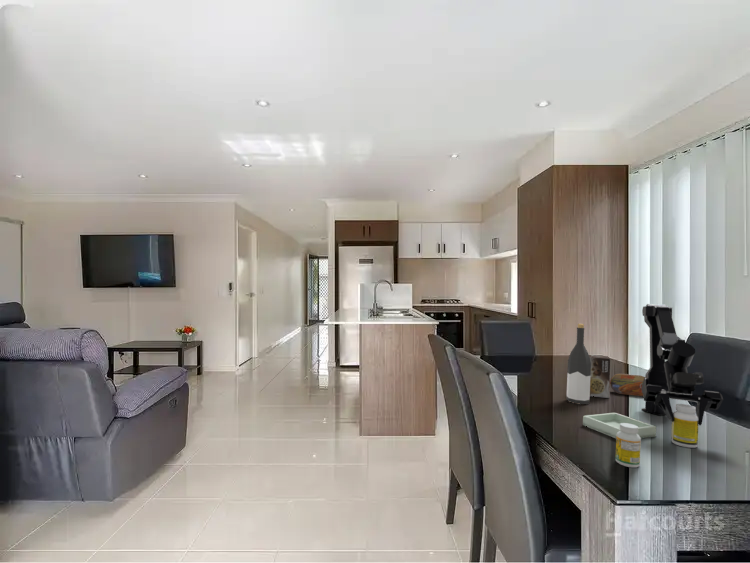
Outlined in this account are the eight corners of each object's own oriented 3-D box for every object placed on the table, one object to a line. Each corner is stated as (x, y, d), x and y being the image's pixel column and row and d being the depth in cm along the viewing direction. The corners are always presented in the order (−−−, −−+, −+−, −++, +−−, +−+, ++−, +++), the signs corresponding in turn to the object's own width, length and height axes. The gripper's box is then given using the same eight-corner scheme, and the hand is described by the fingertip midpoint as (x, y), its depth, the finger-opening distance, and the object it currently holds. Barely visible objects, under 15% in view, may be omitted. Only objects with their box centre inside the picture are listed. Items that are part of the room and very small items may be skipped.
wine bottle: (590, 401, 167) (593, 324, 167) (588, 406, 160) (591, 325, 160) (568, 397, 171) (571, 322, 171) (564, 402, 164) (567, 323, 164)
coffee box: (606, 394, 178) (608, 355, 178) (609, 398, 172) (611, 358, 172) (582, 392, 181) (583, 353, 181) (584, 395, 175) (586, 356, 175)
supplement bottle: (637, 470, 105) (639, 430, 105) (613, 463, 108) (614, 425, 108) (641, 463, 109) (643, 425, 109) (617, 457, 112) (619, 420, 112)
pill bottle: (702, 449, 120) (703, 410, 120) (677, 447, 121) (679, 408, 121) (690, 441, 126) (692, 404, 126) (667, 439, 127) (668, 402, 127)
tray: (614, 421, 142) (615, 412, 142) (655, 436, 129) (656, 426, 129) (582, 425, 137) (583, 415, 137) (622, 441, 124) (622, 430, 124)
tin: (610, 392, 182) (610, 372, 182) (609, 391, 185) (609, 371, 185) (651, 397, 177) (652, 377, 177) (649, 395, 180) (650, 375, 180)
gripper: (646, 357, 131) (653, 403, 120) (722, 364, 124) (736, 413, 113) (640, 378, 138) (646, 423, 128) (711, 386, 131) (723, 433, 121)
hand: (686, 422), depth 122 cm, fingers closed on pill bottle, 6 cm apart
